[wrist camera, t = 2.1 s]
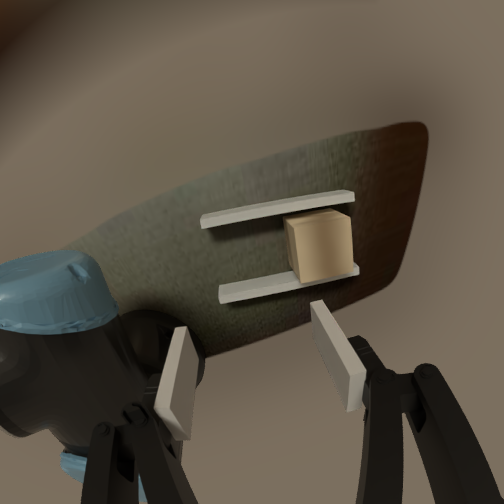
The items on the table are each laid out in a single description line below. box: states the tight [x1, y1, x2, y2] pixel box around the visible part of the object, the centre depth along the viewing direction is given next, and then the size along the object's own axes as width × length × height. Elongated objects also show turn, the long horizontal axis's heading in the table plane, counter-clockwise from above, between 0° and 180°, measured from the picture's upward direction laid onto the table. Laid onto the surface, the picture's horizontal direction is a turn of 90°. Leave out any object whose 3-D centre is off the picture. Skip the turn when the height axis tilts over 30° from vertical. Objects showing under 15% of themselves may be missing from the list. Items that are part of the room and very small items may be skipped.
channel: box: [200, 190, 359, 304], centre depth 31 cm, size 17×10×3 cm, turn 100°
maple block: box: [282, 208, 354, 284], centre depth 30 cm, size 6×6×6 cm
